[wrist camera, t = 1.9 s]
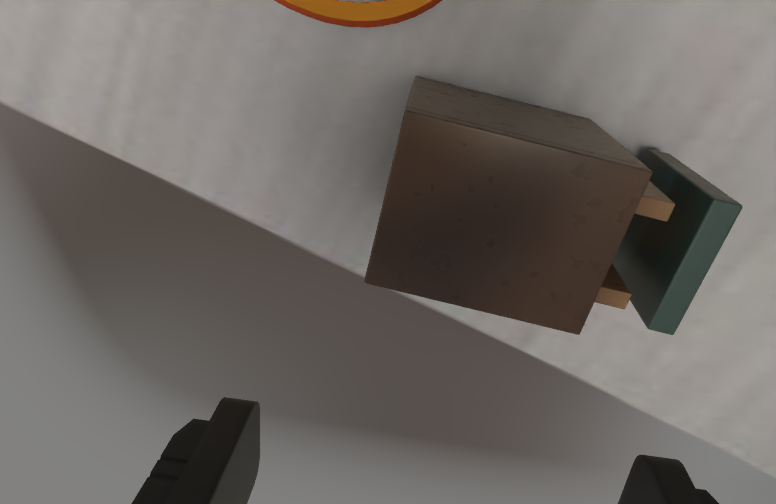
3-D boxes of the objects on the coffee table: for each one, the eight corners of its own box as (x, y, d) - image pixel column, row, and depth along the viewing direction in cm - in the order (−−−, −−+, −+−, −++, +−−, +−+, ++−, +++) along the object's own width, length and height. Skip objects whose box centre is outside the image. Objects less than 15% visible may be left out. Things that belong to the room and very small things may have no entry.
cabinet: (591, 119, 29) (653, 171, 20) (543, 245, 32) (579, 335, 24) (415, 75, 29) (405, 110, 20) (384, 206, 32) (363, 283, 23)
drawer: (692, 159, 29) (774, 213, 22) (642, 264, 31) (700, 342, 24) (511, 114, 28) (534, 153, 21) (476, 223, 31) (486, 290, 24)
